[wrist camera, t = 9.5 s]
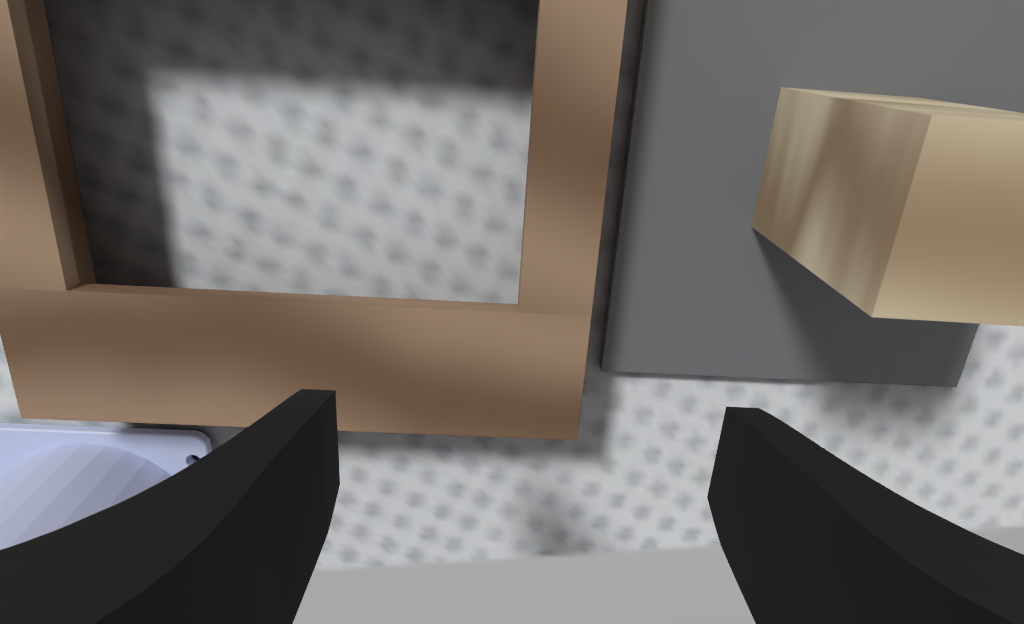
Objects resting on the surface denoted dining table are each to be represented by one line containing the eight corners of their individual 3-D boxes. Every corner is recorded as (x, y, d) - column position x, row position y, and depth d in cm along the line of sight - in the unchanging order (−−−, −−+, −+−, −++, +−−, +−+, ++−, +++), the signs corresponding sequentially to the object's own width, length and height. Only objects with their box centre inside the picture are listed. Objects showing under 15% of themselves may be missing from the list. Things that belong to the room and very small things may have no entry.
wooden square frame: (567, 390, 23) (577, 440, 20) (81, 370, 22) (21, 418, 19) (626, -178, 17) (653, -221, 14) (-43, -232, 16) (-157, -288, 13)
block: (880, 235, 20) (1058, 327, 14) (751, 226, 20) (871, 317, 14) (919, 97, 19) (1141, 130, 12) (780, 87, 19) (931, 115, 12)
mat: (949, 381, 23) (956, 386, 22) (599, 365, 22) (601, 370, 22) (1114, -93, 18) (1127, -95, 17) (660, -128, 17) (664, -131, 17)
